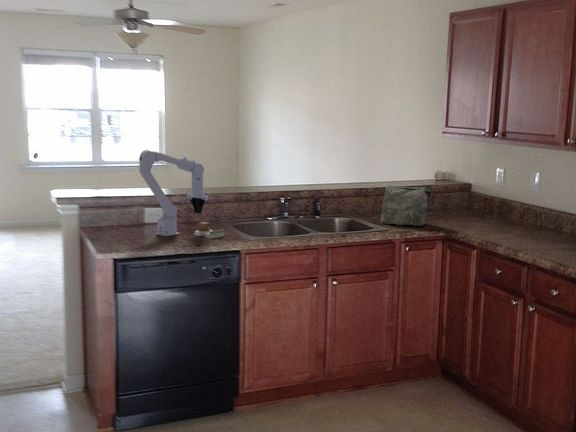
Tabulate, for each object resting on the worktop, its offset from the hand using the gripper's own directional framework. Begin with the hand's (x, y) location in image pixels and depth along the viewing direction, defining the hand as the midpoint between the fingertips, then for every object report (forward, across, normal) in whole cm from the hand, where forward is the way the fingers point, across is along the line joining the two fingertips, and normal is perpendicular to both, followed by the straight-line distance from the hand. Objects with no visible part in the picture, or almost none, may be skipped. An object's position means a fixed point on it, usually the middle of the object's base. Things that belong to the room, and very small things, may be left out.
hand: (197, 212), depth 341 cm
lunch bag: (+14, -56, -108) cm, 122 cm away
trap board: (+10, -9, +1) cm, 14 cm away
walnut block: (+8, -5, +1) cm, 10 cm away
